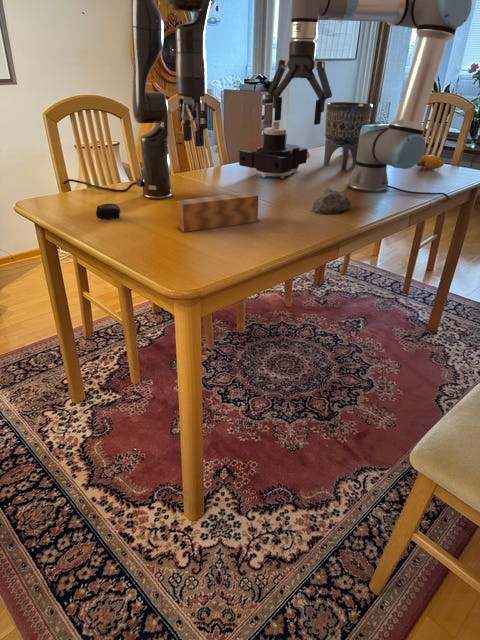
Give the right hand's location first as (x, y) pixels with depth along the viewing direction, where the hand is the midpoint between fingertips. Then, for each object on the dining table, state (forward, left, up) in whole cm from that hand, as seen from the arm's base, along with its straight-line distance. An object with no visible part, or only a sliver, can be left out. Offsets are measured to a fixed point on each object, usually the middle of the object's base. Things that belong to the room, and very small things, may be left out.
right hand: (296, 122), depth 139 cm
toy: (-66, -74, -26) cm, 103 cm away
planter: (-25, -70, -26) cm, 79 cm away
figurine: (-33, -102, -26) cm, 110 cm away
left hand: (+28, +24, -3) cm, 37 cm away
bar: (+22, +20, -26) cm, 40 cm away
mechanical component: (+3, -52, -26) cm, 58 cm away
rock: (-14, +1, -26) cm, 30 cm away
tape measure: (+55, +20, -26) cm, 64 cm away
